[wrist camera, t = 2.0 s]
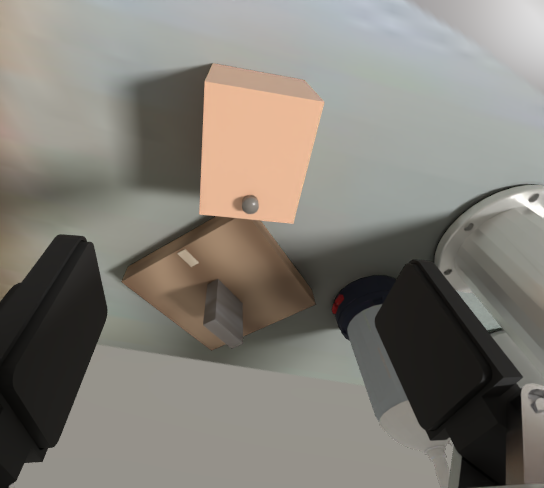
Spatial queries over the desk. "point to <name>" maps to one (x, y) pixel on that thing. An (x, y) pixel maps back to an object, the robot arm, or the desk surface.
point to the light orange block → (256, 143)
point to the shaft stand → (221, 281)
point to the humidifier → (383, 369)
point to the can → (518, 359)
